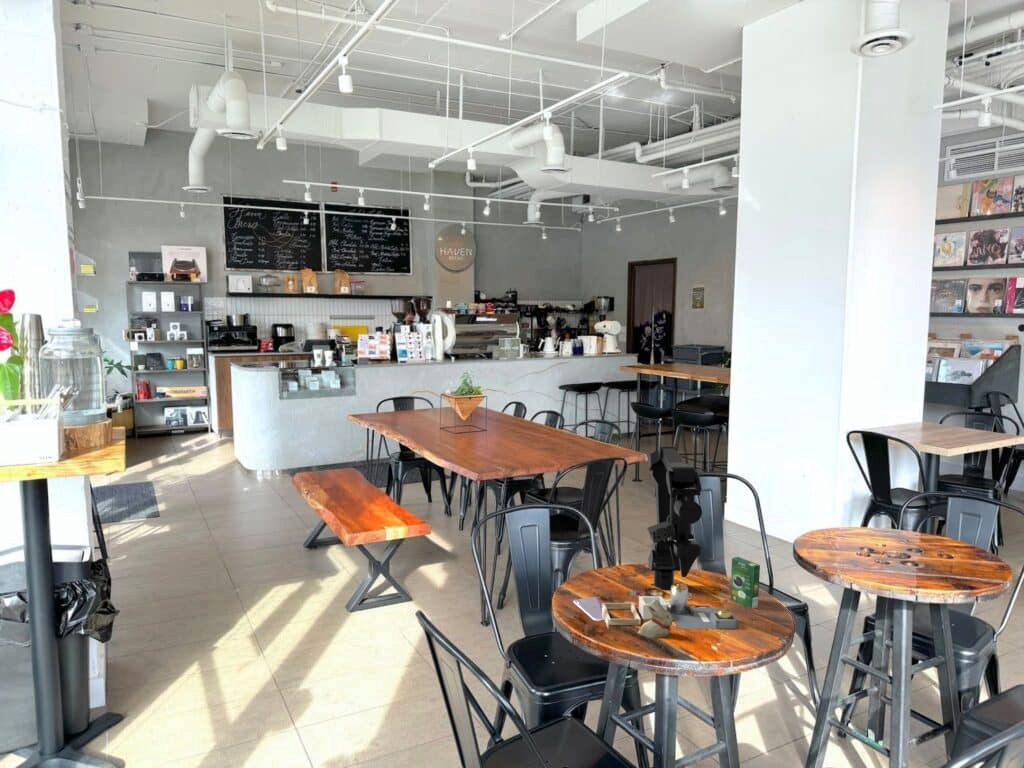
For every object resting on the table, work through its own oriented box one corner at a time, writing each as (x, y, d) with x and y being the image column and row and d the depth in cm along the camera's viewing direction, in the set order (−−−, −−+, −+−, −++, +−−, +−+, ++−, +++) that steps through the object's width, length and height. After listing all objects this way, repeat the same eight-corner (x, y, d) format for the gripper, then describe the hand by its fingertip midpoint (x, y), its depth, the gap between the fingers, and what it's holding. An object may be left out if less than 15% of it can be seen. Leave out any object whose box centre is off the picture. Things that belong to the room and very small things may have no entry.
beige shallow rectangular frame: (602, 612, 193) (602, 602, 193) (632, 612, 193) (632, 602, 193) (608, 629, 182) (608, 619, 182) (640, 629, 182) (640, 619, 182)
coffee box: (759, 611, 194) (761, 564, 193) (752, 613, 193) (753, 565, 192) (737, 601, 201) (738, 555, 200) (729, 603, 200) (730, 557, 199)
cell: (668, 608, 193) (669, 581, 192) (685, 608, 193) (685, 581, 192) (672, 614, 188) (673, 587, 188) (689, 614, 188) (690, 587, 188)
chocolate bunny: (664, 646, 172) (665, 606, 171) (634, 638, 177) (635, 598, 176) (674, 639, 176) (674, 599, 176) (645, 631, 181) (645, 592, 180)
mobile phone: (594, 619, 187) (571, 598, 201) (594, 622, 187) (571, 602, 201) (621, 615, 189) (596, 595, 203) (621, 619, 189) (596, 599, 204)
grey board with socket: (664, 611, 194) (664, 600, 193) (721, 611, 194) (721, 600, 194) (677, 633, 180) (677, 620, 179) (738, 633, 180) (738, 620, 180)
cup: (638, 614, 191) (639, 596, 191) (661, 614, 192) (661, 596, 191) (643, 623, 185) (643, 604, 185) (666, 623, 186) (666, 604, 185)
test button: (715, 617, 184) (716, 607, 184) (728, 617, 184) (728, 607, 184) (719, 622, 181) (719, 612, 181) (732, 622, 181) (732, 612, 181)
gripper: (643, 505, 198) (642, 560, 199) (658, 523, 179) (657, 584, 180) (683, 505, 198) (682, 560, 199) (702, 523, 179) (701, 584, 180)
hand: (679, 571), depth 190 cm, fingers open, 8 cm apart
